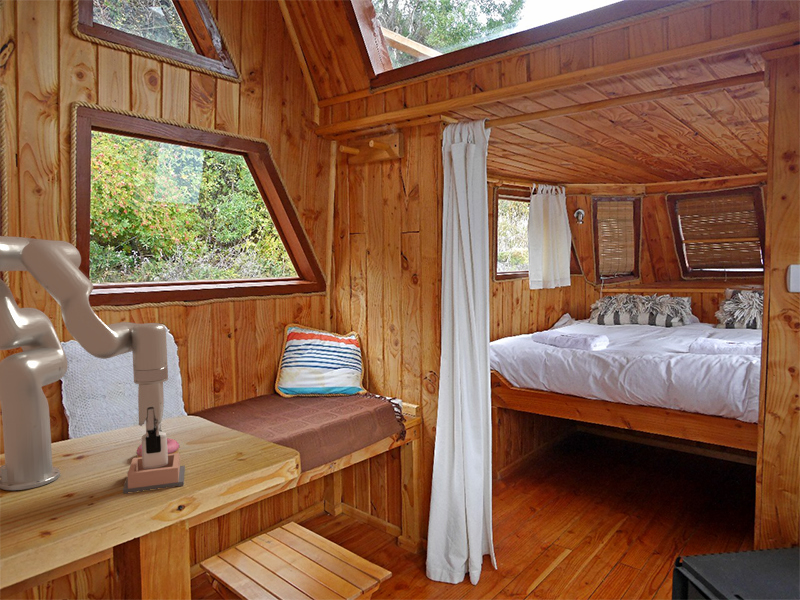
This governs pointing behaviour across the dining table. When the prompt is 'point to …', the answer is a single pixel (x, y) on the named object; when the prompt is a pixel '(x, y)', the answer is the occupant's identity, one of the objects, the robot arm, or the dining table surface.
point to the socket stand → (154, 475)
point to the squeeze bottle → (155, 458)
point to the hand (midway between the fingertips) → (154, 448)
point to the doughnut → (171, 447)
